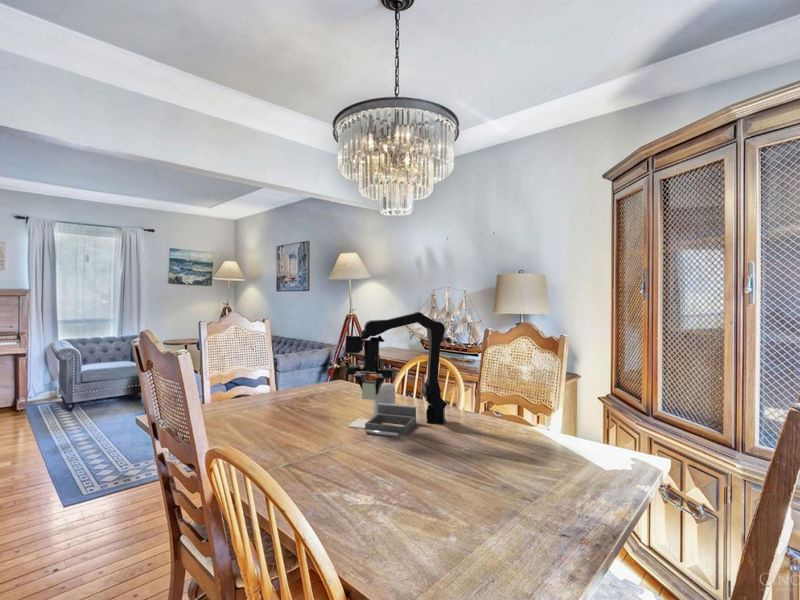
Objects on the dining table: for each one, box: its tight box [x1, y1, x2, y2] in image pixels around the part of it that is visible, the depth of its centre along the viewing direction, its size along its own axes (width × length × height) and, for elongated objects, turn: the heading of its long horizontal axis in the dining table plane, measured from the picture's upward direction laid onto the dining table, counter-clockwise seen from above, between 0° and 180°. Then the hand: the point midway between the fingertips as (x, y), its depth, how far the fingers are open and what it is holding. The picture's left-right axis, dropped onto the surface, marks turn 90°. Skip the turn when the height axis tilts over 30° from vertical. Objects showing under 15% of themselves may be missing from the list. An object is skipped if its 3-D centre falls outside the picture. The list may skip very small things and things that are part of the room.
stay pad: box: [347, 417, 370, 430], centre depth 159 cm, size 7×10×1 cm
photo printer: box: [373, 382, 396, 415], centre depth 175 cm, size 10×4×12 cm, turn 134°
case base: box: [364, 413, 416, 435], centre depth 155 cm, size 16×13×3 cm
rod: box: [365, 429, 400, 438], centre depth 146 cm, size 12×1×1 cm, turn 72°
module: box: [361, 380, 379, 401], centre depth 157 cm, size 5×5×6 cm
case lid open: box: [378, 403, 417, 424], centre depth 162 cm, size 16×2×6 cm, turn 72°
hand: (370, 393), depth 157 cm, fingers closed on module, 5 cm apart
